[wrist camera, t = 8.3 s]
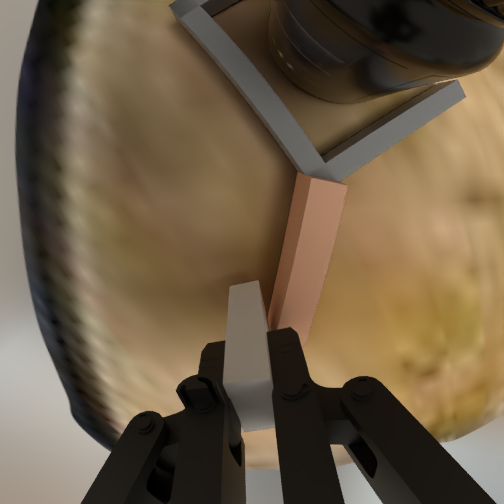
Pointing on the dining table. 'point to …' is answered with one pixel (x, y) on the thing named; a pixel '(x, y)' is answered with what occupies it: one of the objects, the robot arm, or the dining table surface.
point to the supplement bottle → (382, 43)
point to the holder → (306, 164)
